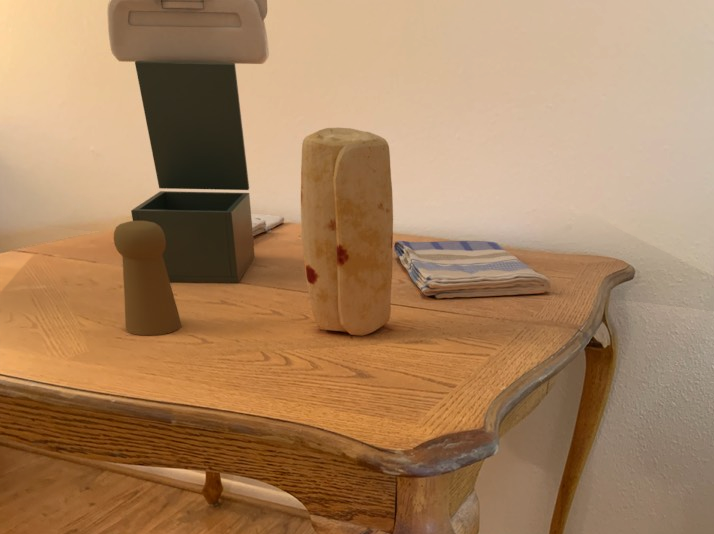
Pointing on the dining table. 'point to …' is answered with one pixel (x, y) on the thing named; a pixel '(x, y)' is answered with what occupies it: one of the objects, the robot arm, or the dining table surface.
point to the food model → (347, 228)
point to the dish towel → (467, 269)
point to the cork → (146, 279)
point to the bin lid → (194, 124)
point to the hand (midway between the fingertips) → (197, 102)
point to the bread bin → (202, 234)
